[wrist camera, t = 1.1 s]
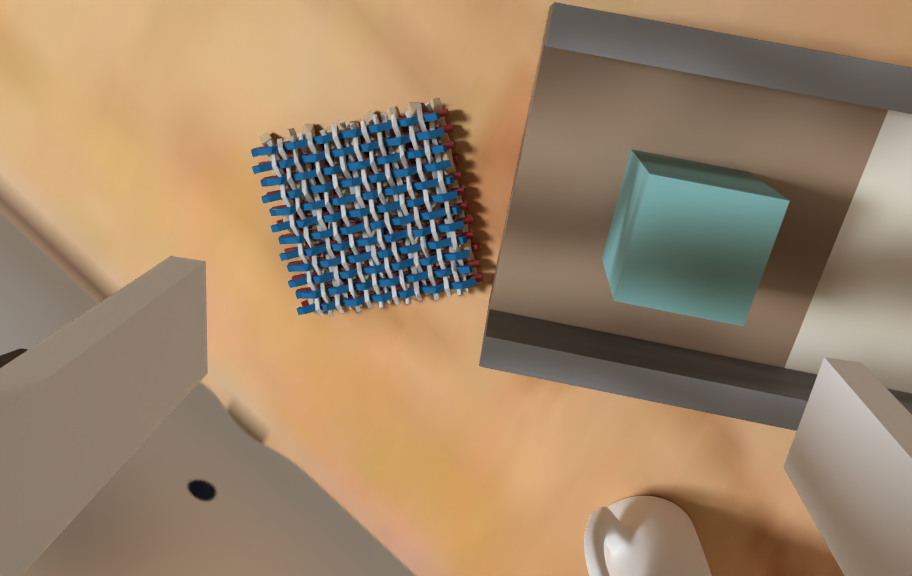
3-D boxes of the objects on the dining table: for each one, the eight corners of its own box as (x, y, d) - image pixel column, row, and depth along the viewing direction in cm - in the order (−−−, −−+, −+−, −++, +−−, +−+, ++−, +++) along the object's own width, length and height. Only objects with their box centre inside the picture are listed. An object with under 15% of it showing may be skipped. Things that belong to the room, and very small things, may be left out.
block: (631, 149, 29) (649, 173, 24) (748, 171, 29) (789, 200, 24) (601, 258, 31) (614, 301, 26) (711, 280, 31) (743, 326, 26)
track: (549, 6, 32) (554, 2, 24) (1249, 135, 31) (1477, 171, 23) (489, 297, 37) (479, 366, 30) (1079, 415, 36) (1218, 516, 29)
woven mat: (489, 283, 38) (487, 297, 36) (310, 312, 40) (299, 326, 38) (450, 92, 34) (445, 96, 32) (255, 133, 36) (239, 139, 34)
